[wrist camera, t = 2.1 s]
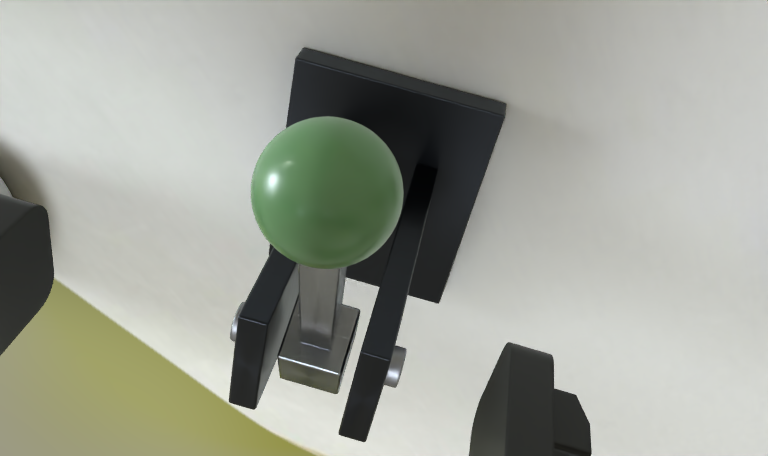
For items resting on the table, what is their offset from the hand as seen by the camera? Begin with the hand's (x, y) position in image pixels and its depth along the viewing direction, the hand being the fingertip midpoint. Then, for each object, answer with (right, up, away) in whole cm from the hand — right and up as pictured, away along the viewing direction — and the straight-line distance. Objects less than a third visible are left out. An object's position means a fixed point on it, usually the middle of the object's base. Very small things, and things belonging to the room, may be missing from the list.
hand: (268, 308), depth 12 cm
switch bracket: (+2, +4, +21) cm, 22 cm away
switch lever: (+1, +1, +8) cm, 9 cm away
